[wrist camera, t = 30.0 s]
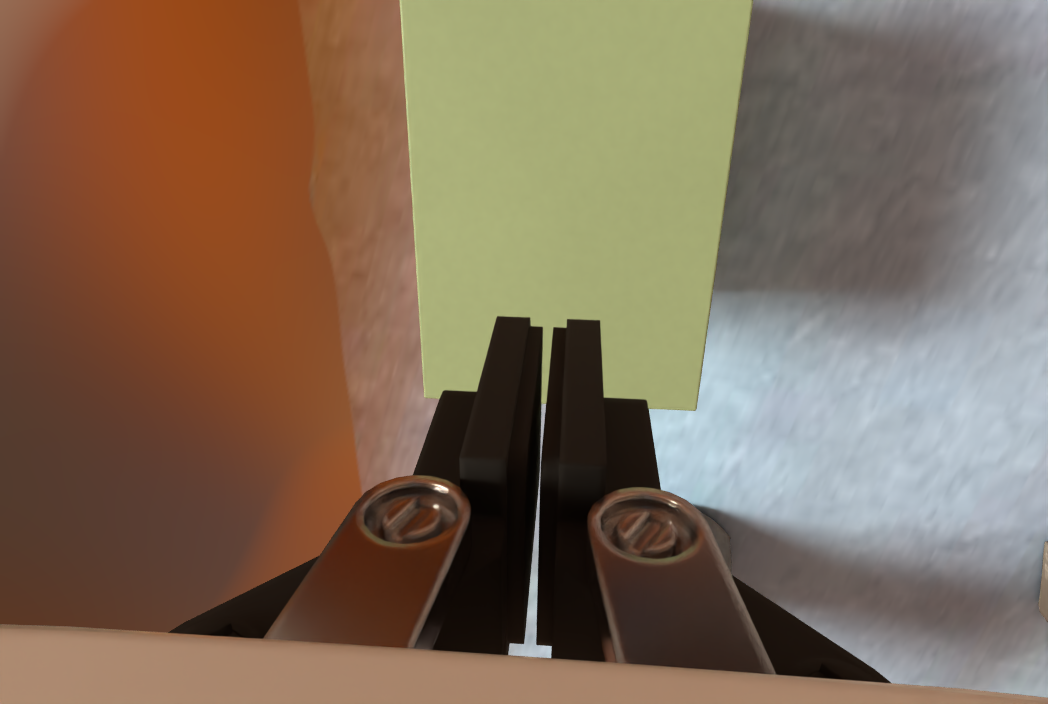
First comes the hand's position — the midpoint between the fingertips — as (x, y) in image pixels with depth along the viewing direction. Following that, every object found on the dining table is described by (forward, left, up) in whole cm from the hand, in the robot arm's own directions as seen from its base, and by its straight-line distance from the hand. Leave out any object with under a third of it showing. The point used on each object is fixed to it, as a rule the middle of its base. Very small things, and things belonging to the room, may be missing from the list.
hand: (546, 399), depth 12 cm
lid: (0, +2, -17) cm, 17 cm away
